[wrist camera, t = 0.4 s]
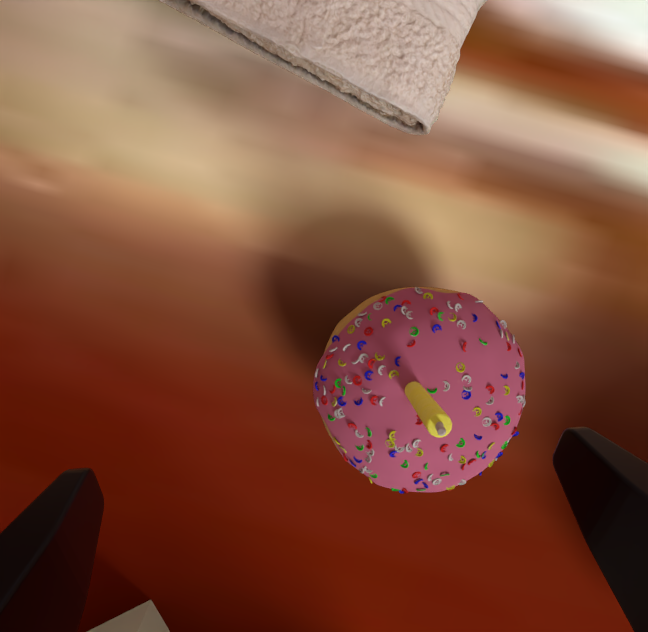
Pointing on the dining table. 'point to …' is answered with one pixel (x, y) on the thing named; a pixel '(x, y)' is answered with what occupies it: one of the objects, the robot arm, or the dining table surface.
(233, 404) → the dining table surface
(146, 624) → the cube
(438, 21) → the washcloth
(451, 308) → the cupcake
